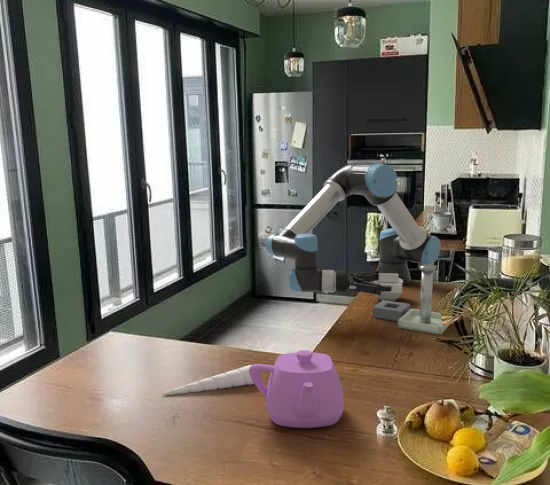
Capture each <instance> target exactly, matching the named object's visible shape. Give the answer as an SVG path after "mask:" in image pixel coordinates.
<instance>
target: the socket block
mask: <svg viewBox="0 0 550 485" xmlns="http://www.w3.org/2000/svg"><path fill="white" fill-rule="evenodd" d="M410 309H411V304H410V303H405V302H397V301H386V300H380V301H379V302H378V303H377V304H376V305H374V306H373V307H372V318H377V319H381V320H386V321H387V320H388V321H395V322H398V320H399V319H400V318H401V317H402V316H403V315H405V314H406V313H407V312H408V311H409V310H410Z"/></svg>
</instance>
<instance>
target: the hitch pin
mask: <svg viewBox="0 0 550 485" xmlns="http://www.w3.org/2000/svg"><path fill="white" fill-rule="evenodd" d="M418 269H419V271H421V276H420V280H421V281H420V298H419V299H420V300H419V301H420V302H419V303H420V304H419V305H420V306H419V310H420V320H419V322H420V323H422V324H430V323H431V312H432V302H433V280H434V272H435V271H437V266H436V265H435V264H419V268H418Z"/></svg>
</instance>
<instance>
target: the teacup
mask: <svg viewBox="0 0 550 485" xmlns="http://www.w3.org/2000/svg"><path fill="white" fill-rule="evenodd" d="M371 283H375V284H380V285H381V284H402V283H403V280H402V279H400V278H398V282H382V281H379V280H377V281H372V282H371ZM402 293H403V292H402ZM402 293H383V292H381V295H377V294H372V295H374V296H375V297H376V298H378V299H379V300H380V301H382V300H386V301H393V302H396V301H397V300H398V299H400V297H401V296H402V295H403V294H402Z"/></svg>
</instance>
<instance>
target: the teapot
mask: <svg viewBox="0 0 550 485" xmlns="http://www.w3.org/2000/svg"><path fill="white" fill-rule="evenodd" d="M251 365H252V366H250V368H249V374H250V377H251V379H252V381H253V382H254V384H253V385H255V387H257V389H258V390H259V391H260V392H261V393H262V395H263V396H264V397H265V405H266V411H267V414H268V416H269V417H270V419H271V421H272V422H273V423H274V424H276V425H278V426H282V427H287V428H296V429H297V428H298V429H312V428H313V429H314V428H321V427H322V428H323V427H328V426H333V425H335V424H336V423H337V422H338V421H339V420H340V418H341V417H342V415H343V412H344V407H345V406H344V405H345V404H344V393H343V386H342V383H341V379H340V377H339V373H338V372H337V369H336V367H335V364H334V362H333V360H332V358H331V356H329V355H328V354H327V353H326V354H325V353H322V352H321V353H320V352H312V351H310V350H308V349H301V350H298V351H296V352H290V353H289V352H288V353H282V354H280V355H279V356H277V357H276V360H275V361H274V365H272V364H265V363H255V364H251ZM261 372H270V375H269V379H268V382H267V387H266V385H265V384H264V382H263V380H262V378H261V375H260V374H261Z"/></svg>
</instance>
